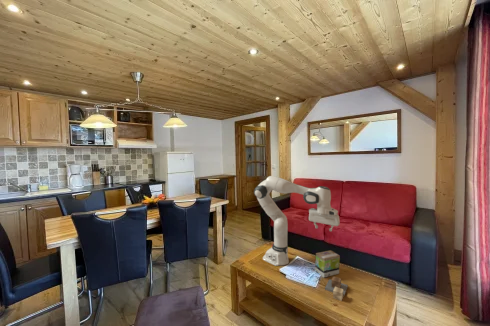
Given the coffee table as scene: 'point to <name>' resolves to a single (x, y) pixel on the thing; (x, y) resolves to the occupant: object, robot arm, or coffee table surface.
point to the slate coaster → (330, 288)
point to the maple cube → (338, 293)
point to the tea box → (327, 263)
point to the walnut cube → (336, 282)
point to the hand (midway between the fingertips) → (323, 229)
